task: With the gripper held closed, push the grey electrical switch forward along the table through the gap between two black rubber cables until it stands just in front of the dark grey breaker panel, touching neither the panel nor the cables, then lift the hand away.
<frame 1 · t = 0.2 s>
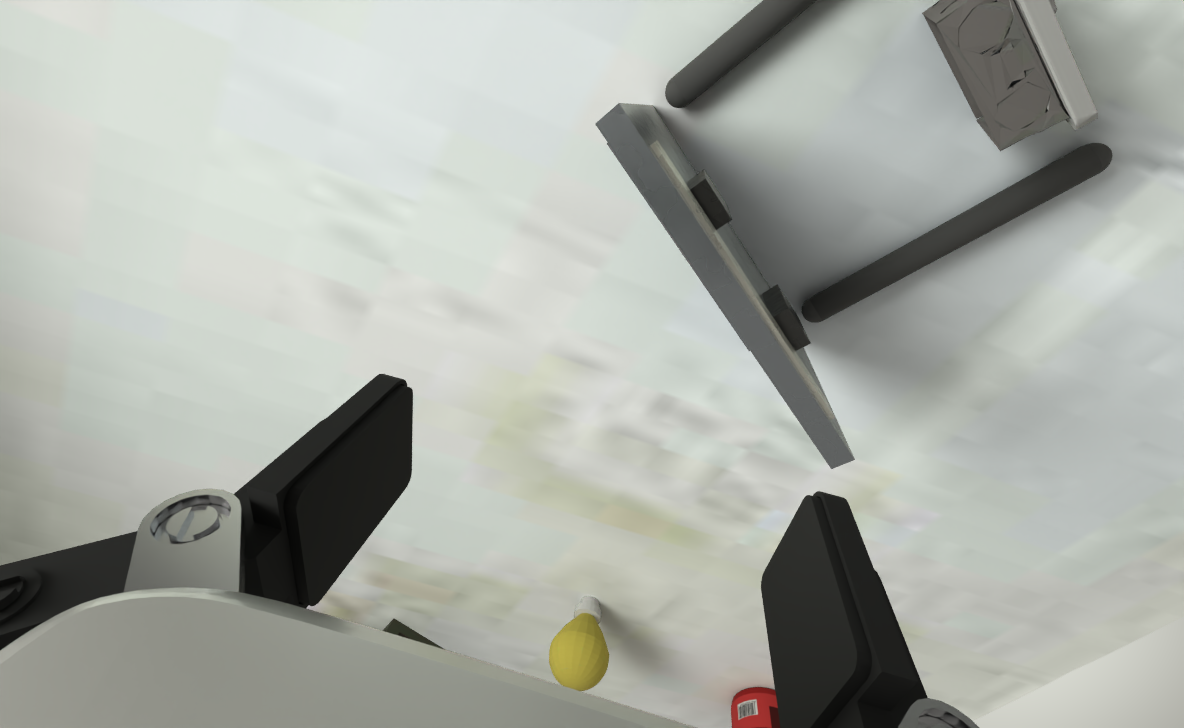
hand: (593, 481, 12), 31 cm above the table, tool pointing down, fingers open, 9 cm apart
first aid box: (421, 674, 76), on the table
panel: (720, 226, 38), on the table
canned food: (761, 702, 64), on the table
electrical switch: (967, 59, 31), on the table
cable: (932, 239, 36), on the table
light bulb: (590, 601, 61), on the table
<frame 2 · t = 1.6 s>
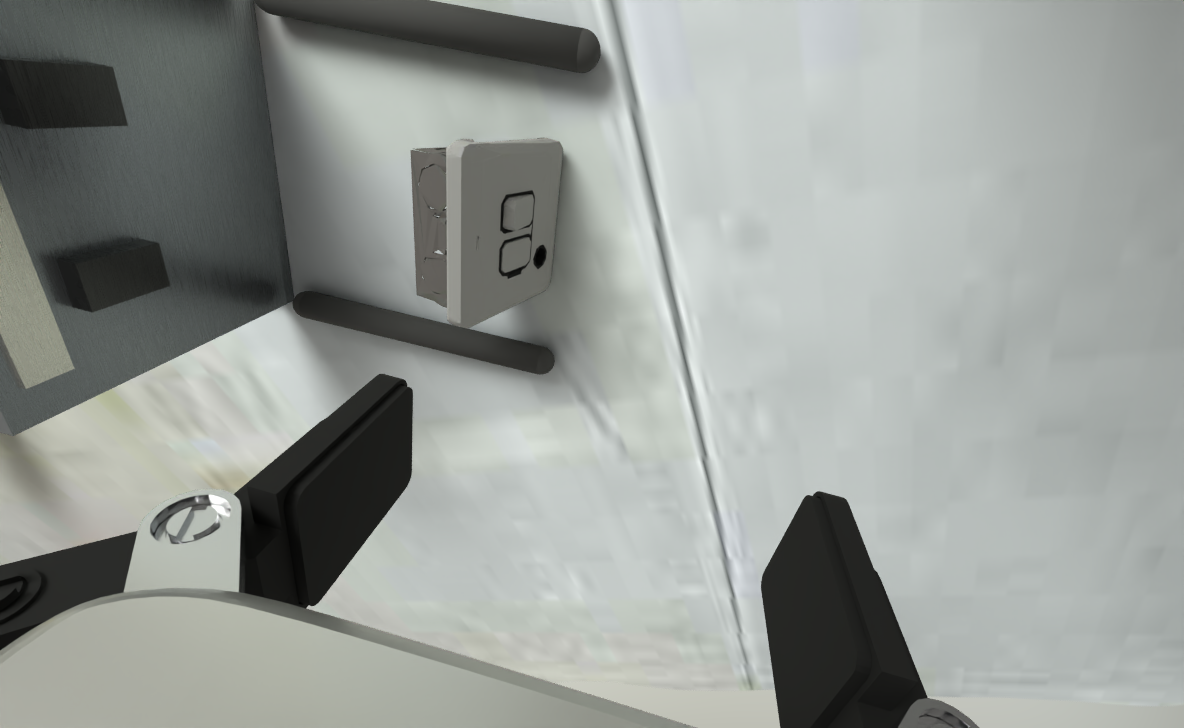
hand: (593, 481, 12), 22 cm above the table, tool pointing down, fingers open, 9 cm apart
panel: (267, 161, 33), on the table
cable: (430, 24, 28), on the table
electrical switch: (518, 214, 32), on the table
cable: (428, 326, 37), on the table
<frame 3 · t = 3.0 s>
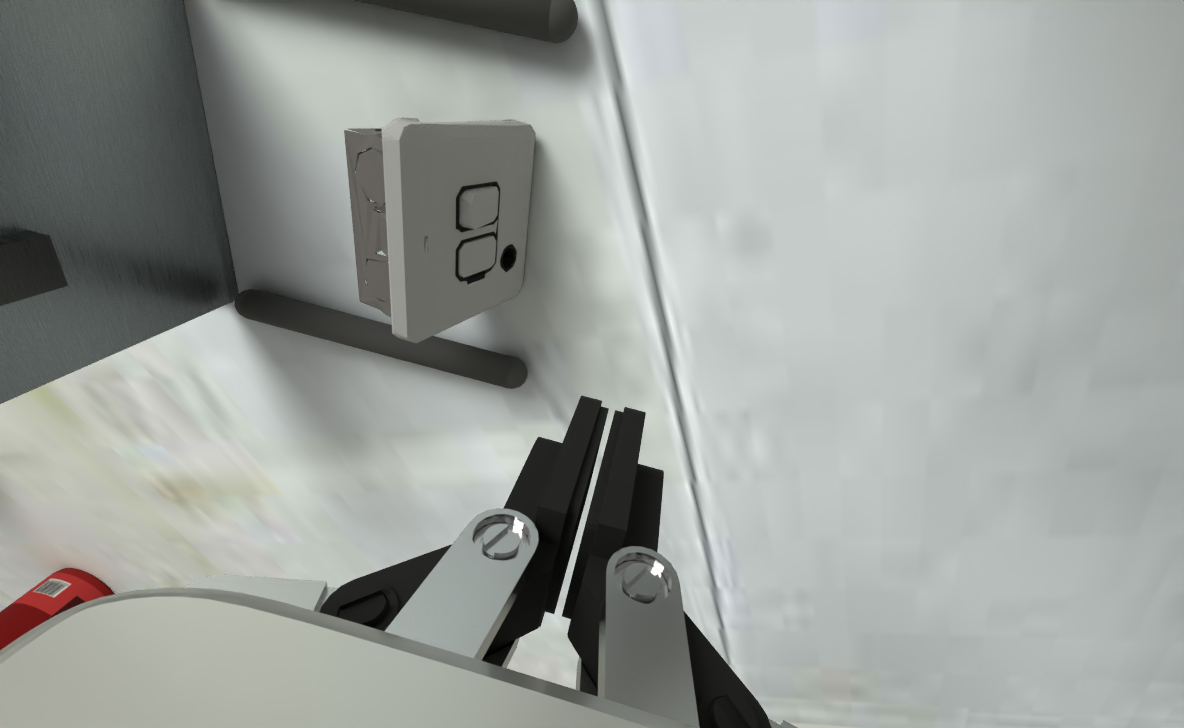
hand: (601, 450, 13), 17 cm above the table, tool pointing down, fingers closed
panel: (200, 141, 29), on the table
canned food: (90, 587, 59), on the table
electrical switch: (485, 208, 28), on the table
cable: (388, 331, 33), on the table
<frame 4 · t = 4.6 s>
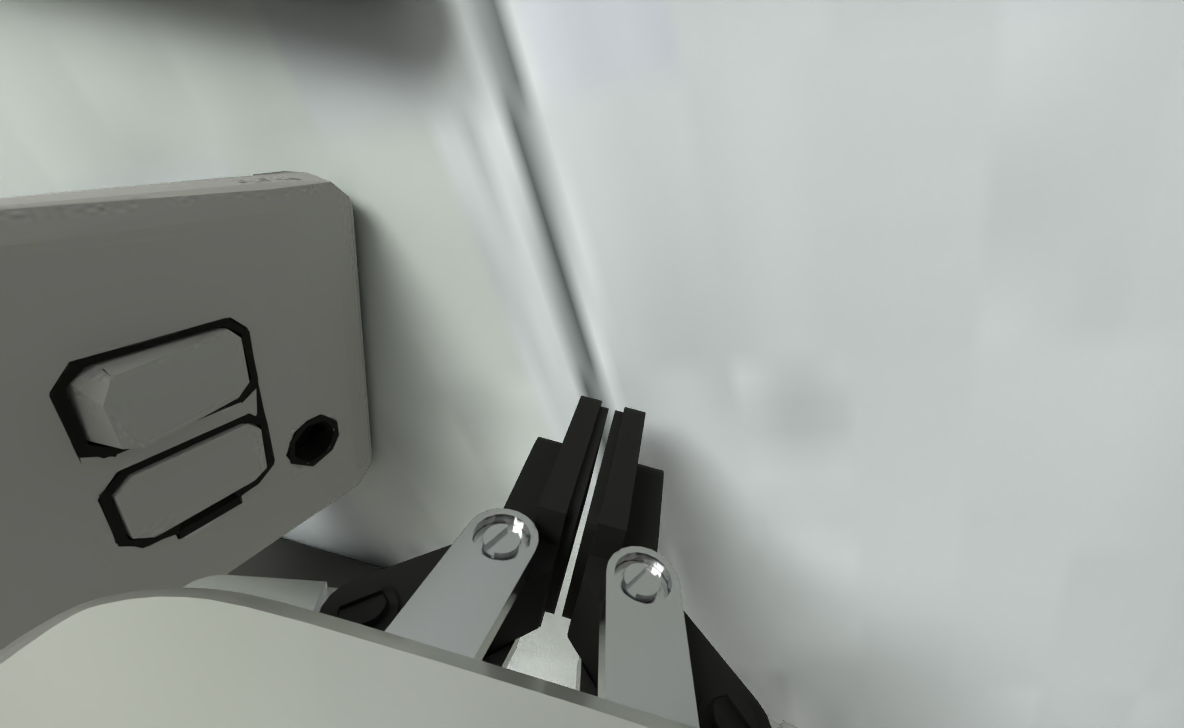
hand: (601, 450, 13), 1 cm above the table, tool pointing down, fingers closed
electrical switch: (289, 330, 15), on the table
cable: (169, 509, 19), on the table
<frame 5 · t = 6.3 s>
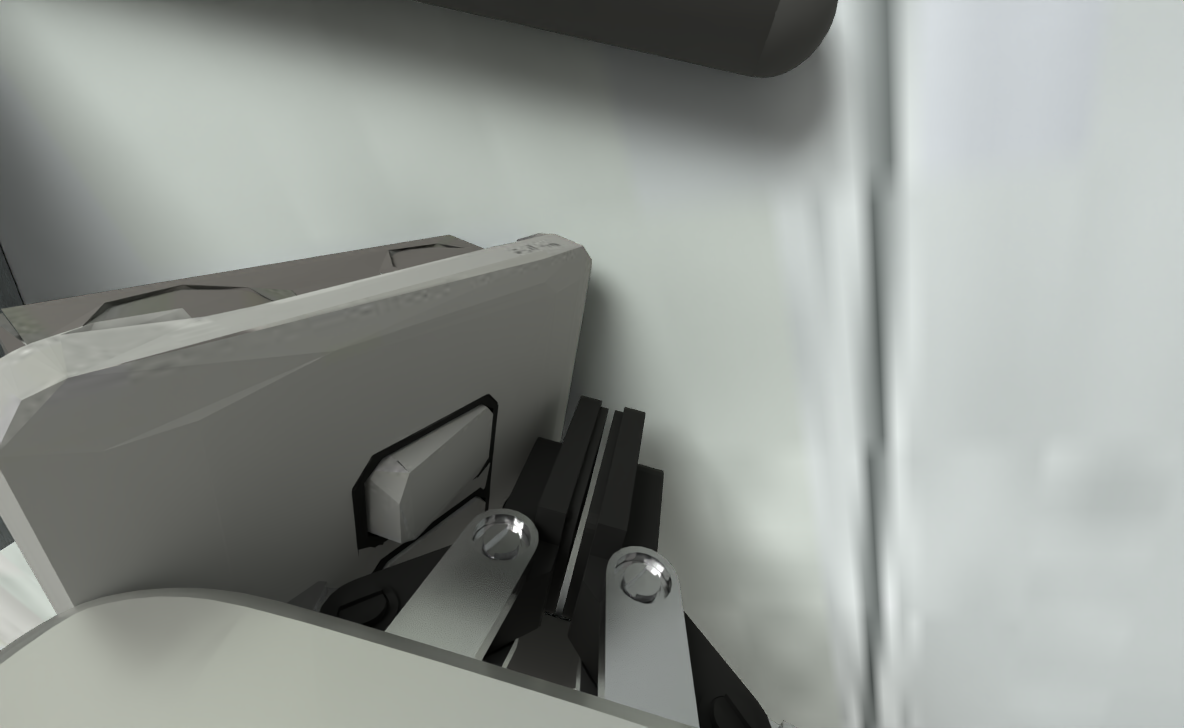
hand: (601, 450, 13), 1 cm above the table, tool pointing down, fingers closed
electrical switch: (483, 381, 14), on the table
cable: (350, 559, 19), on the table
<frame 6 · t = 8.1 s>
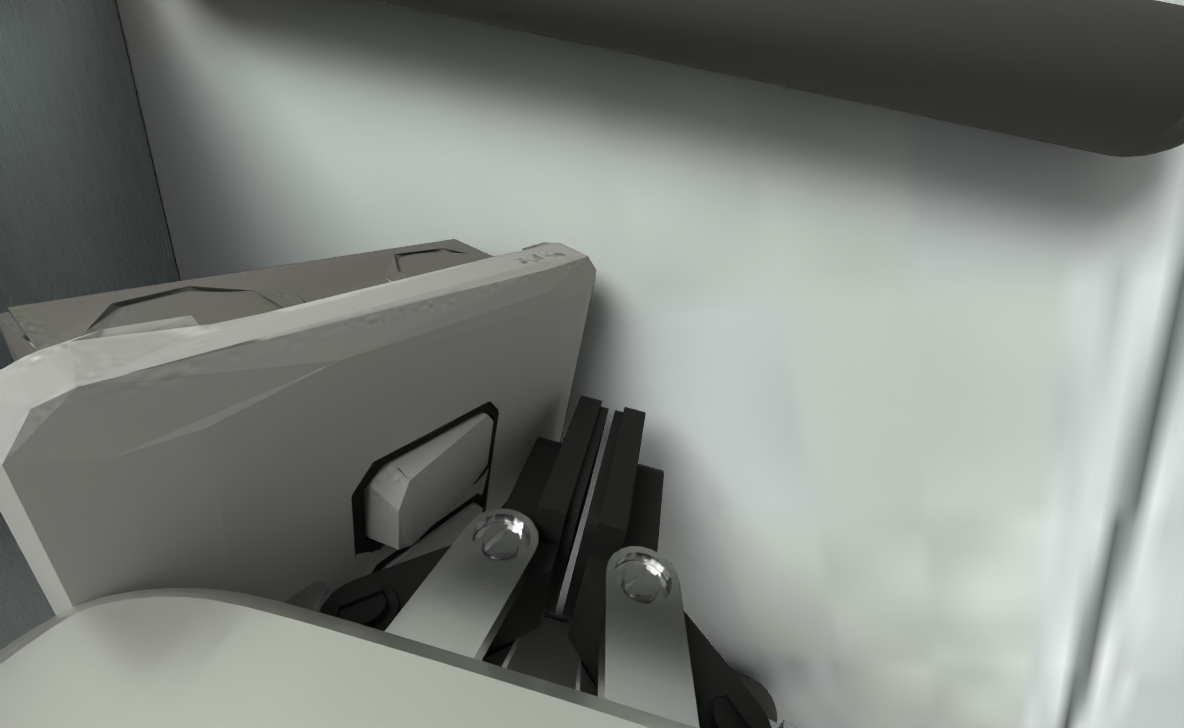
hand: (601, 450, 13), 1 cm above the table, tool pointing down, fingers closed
panel: (167, 302, 15), on the table
electrical switch: (483, 384, 14), on the table
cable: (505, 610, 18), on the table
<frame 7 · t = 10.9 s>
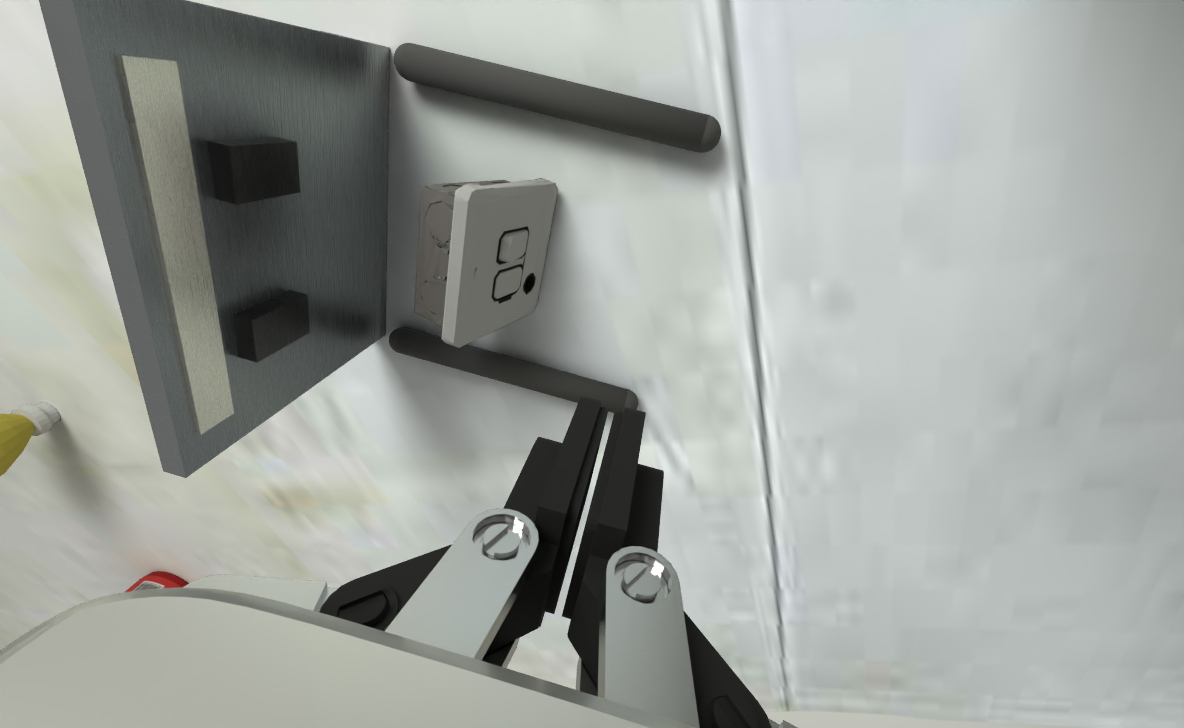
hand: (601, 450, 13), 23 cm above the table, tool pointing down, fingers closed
panel: (379, 208, 35), on the table
canned food: (175, 589, 63), on the table
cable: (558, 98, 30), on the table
electrical switch: (511, 242, 35), on the table
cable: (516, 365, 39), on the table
light bulb: (51, 410, 52), on the table
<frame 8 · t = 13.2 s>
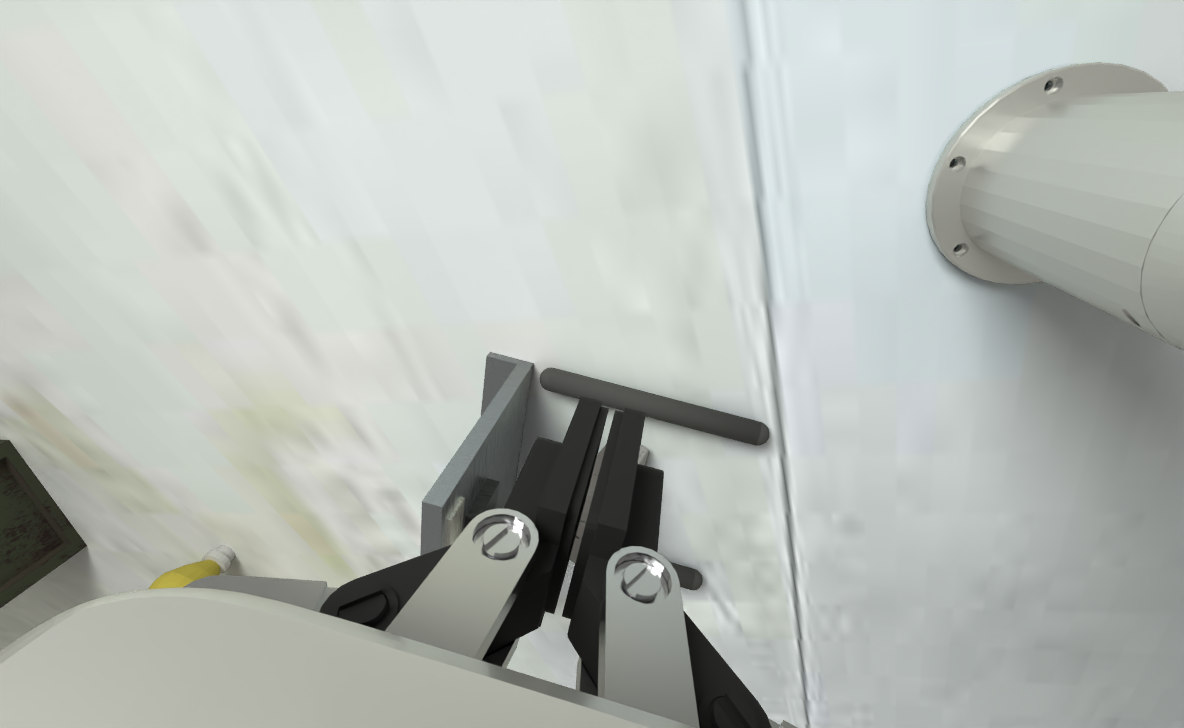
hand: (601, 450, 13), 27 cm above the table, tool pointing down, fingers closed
first aid box: (1, 491, 69), on the table
panel: (514, 449, 48), on the table
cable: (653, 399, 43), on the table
electrical switch: (611, 474, 48), on the table
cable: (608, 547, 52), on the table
light bulb: (228, 551, 66), on the table
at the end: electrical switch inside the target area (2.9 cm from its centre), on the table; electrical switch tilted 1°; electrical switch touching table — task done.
